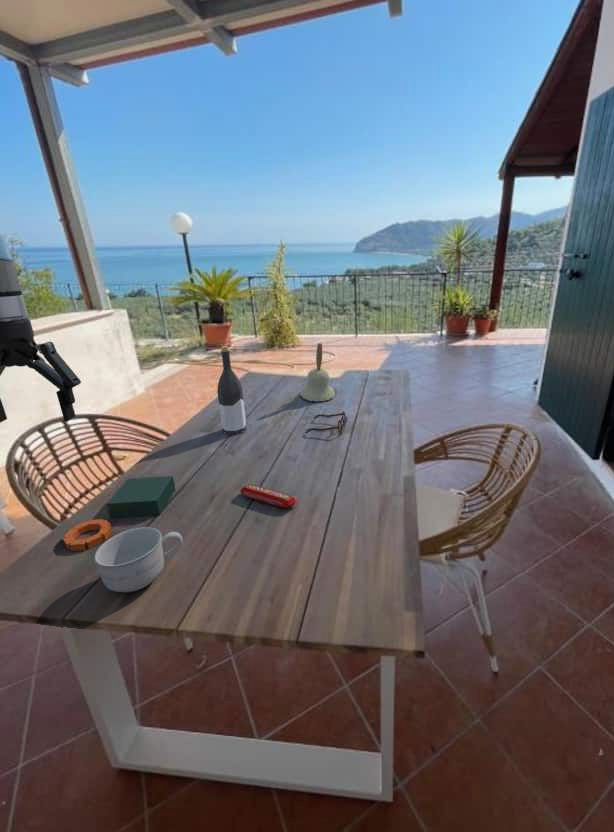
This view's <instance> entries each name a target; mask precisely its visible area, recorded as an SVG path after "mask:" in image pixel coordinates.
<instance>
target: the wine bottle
mask: <svg viewBox="0 0 614 832" xmlns="http://www.w3.org/2000/svg"><path fill="white" fill-rule="evenodd" d="M220 353H221V360H222V372H221V375H220V377H219V379H218V382H217V390H216V392H217V399H218V407H219V414H220V422H221V429H222V430H221V431H222V433H223V432H225V433H227V434H237V433H240V432H242V431H244V430H245V428H246V429H247V419H246V411H245V403H244V401H245V400H244V394H243V387H242V386H243V385H242V384H241V381H240V380H239V378H238V376H237V374H236V373H235V371H234V370H233V369H232V365H231V364H232V363H231V356H230V350H229V346H228V345H222V346H221V351H220ZM245 431H246V430H245ZM245 431H244V432H245ZM225 433H224V434H225ZM227 434H226V435H227ZM240 434H241V433H240ZM237 435H238V434H237Z"/></svg>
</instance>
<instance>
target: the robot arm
mask: <svg viewBox="0 0 614 832" xmlns="http://www.w3.org/2000/svg"><path fill="white" fill-rule="evenodd" d="M14 261H15V260H14V258H13V256H12V254H11V251H10V248H9V245H8V242H7V240H6V238H5V237H4V236H3V235H2V234H0V377H1V376H2V374H3V373H4V371H5V369H6V368H13V367H19V368H21V367H28V368H29V369H33V370H34V371H35V372H37V373H38V374H39V375H41V376H42V377H43V378H44V379H45V380H47V381H48V382H50V383H51V384H52V385H53V386H55V387H56V388H57V389H59V390H57V391H56V396H57V400H58V403H59V406H60V410H61V411H60V412H61V414H62V418H63V421H64V422H69V421H70V420H72V419H74V418H75V417H76V412H75V409H74V403H76V398H75V394H74V390H73V388H76V387H77V386H79V385H80V384H81V383H82V381H81V379H80V378H79V377H78V375H77V374H76V373H75V372H74V371H73V370H72V368H71V367H70V365H68V363H67V362H66V361H65V359H63V357H62V356H61V355H60V354H59V352H58V351H57V348H56V346H55V344H54V343H53V342H52V341H47V342H43V343H37V342H36V340H35V332H34V329H33V325H32V322H31V319H29V317H27V316H28V315H29V313H28V308H27V306H26V301H25V299H24V295H23V292H22V288H21V285H20V281H19V277H18V273H17V269H16V266H15V262H14ZM38 353H39V354H40V355H39V354H38ZM41 355H42V356H43V357H42V356H41ZM46 361H47V362H48V363H47V362H46ZM3 404H4V403H3V401H2V399H1V397H0V424H1V423H2V422H4V421H6V420H8V416H7V414H6V410H5V407H4V405H3Z"/></svg>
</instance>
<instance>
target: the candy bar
mask: <svg viewBox="0 0 614 832" xmlns="http://www.w3.org/2000/svg"><path fill="white" fill-rule="evenodd" d="M239 492H240V493H241V494H242V496H244V497H246V498H250V499H253V500H256V501H259V502H263V503H266V504H269V505H273V506H275V507H278V508H279V507H280V508H282V509H283V508H284V509H288V508H291V507H292V506H293V505H295V504H298V502H297V501H296V498H295V497H294V496H293V495H291V494H289V493H285V492H282V491H278V490H275V489H271V488H267V487H263V486H261V485H256V484H251V483H250V484H246V485H244V486H243V487H242V488H241V489H240V490H239Z"/></svg>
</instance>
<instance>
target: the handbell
mask: <svg viewBox="0 0 614 832" xmlns="http://www.w3.org/2000/svg"><path fill="white" fill-rule="evenodd" d="M315 355H316V356H315V361H316V367H313V368H312V369H310V370H309V371H308V373H307V378H306V379H307V383H306V385H304V386H303V387H301V389H300V391H299V394H300V397H301V398H303V399H304V400H306V401H308V400H309V401H308V402H312V401H322V400H327V399H330V398H332V399H334V397H335V396H336V392H335V389H334V388H332V387H331V386H330V374H329V372H328V371H327V370H325V369H324V368H322V363H323V344H322V343H321V342H319V343H317V345H316V352H315Z"/></svg>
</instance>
